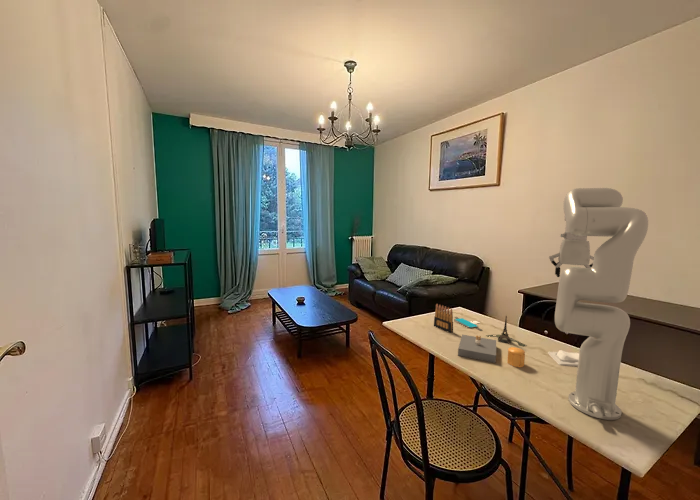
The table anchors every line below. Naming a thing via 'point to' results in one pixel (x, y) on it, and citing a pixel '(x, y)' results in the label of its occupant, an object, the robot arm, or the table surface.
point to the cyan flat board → (467, 323)
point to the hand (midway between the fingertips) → (571, 277)
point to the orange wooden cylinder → (516, 357)
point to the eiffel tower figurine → (506, 336)
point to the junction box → (477, 348)
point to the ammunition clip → (443, 318)
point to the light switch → (565, 358)
